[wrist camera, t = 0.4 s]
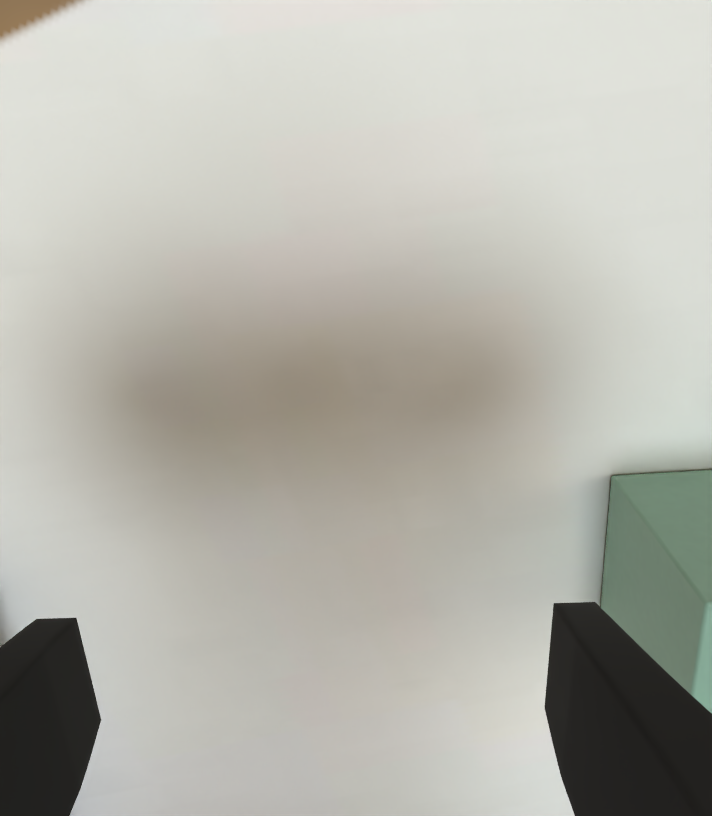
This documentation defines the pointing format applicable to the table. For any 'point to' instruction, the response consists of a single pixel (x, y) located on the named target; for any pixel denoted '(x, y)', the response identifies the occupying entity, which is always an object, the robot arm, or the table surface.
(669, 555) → the tissue box
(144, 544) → the table surface
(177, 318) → the table surface
